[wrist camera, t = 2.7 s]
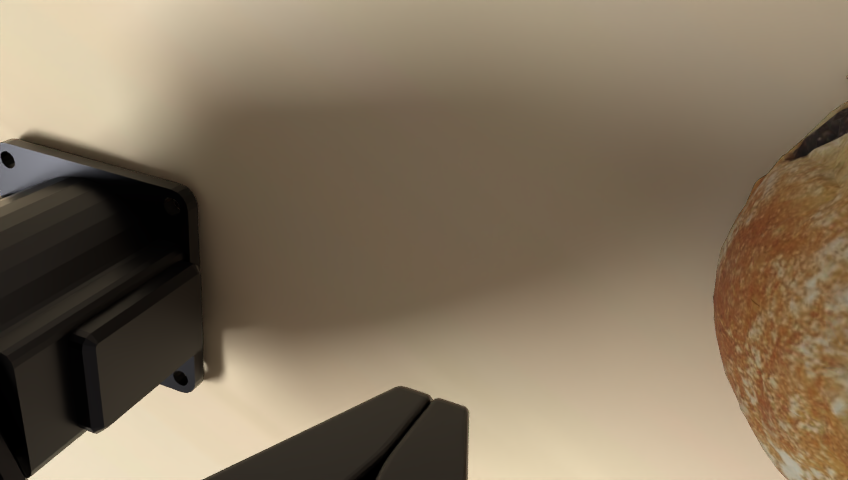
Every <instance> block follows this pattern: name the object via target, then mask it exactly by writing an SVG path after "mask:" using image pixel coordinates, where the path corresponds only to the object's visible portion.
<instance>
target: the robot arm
mask: <svg viewBox="0 0 848 480" xmlns="http://www.w3.org/2000/svg"><path fill="white" fill-rule="evenodd" d="M173 199H174V200H176V201H177V203H178V204H179V207H180V209H178V208H177V206H176V205H175V203H174V200H173ZM202 381H203V328H202V299H201V275H200V261H199V233H198V206H197V201H196V198H195V196H194V194H193V193H192V192H191V191H190V190H189V189H188V188H187V187H186V186H183V185H181V184H178V183H175V182H171V181H167V180H164V179H160V178H157V177H153V176H149V175H146V174H142V173H139V172H135V171H131V170H128V169H124V168H120V167H117V166H113V165H110V164H106V163H102V162H99V161H95V160H91V159H88V158H84V157H81V156H77V155H73V154H70V153H66V152H63V151H59V150H55V149H52V148H48V147H44V146H41V145H37V144H34V143H30V142H26V141H23V140H19V139H10V140H7V141H4V142H1V143H0V480H28V479H27V478H29V477H30V476H32V475H33V474H34V473H35V472H37V471H38V470H39V469H40V468H42V467H43V466H44V465H45V464H47V463H48V462H49V461H50V460H51V459H53V458H54V457H55V456H56V455H58V454H59V453H60V452H61V451H62V450H64V449H65V448H66V447H67V446H69V445H70V444H71V443H72V442H74V441H75V440H76V439H77V438H78V437H80V436H81V435H82V434H83V433H85V432H86V431H90V432H92V433H96V434H97V433H99V432H101V431H103V430H104V429H106V428H108V427H109V426H110V425H111V424H112V423H114V422H115V421H116V420H117V419H118V418H120V417H121V416H122V415H123V414H124V413H126V412H127V411H128V410H129V409H130V408H131V407H133V406H134V405H135V404H136V403H137V402H139V401H140V400H141V399H142V398H143V397H145V396H146V395H147V394H148V393H149V392H151V391H152V390H153V389H154V388H155V387H157V386H158V385H159V384H161V385H164V386H167V387H169V388H172V389H175V390H177V391H180V392H184V393H188V392H191V391H193V390H194V389H195V388H196V387H197V386H198V385H199V384H200V383H201V382H202ZM468 441H469V411H468V409H467V408H466V407H465V406H462V405H459V404H456V403H453V402H450V401H447V400H444V399H441V398H437V399H434V400H433V399H432V398H431V396H430V395H428V394H426V393H423V392H420V391H416V390H413V389H410V388H407V387H403V386H398V387H395V388H393V389H391V390H389V391H386V392H384V393H382V394H380V395H378V396H376V397H374V398H372V399H370V400H368V401H366V402H363V403H361V404H359V405H357V406H355V407H353V408H351V409H349V410H347V411H345V412H343V413H341V414H338V415H336V416H334V417H332V418H330V419H328V420H326V421H324V422H322V423H320V424H318V425H316V426H313V427H311V428H309V429H307V430H305V431H303V432H301V433H299V434H297V435H295V436H293V437H290V438H288V439H286V440H284V441H282V442H280V443H278V444H276V445H274V446H272V447H270V448H268V449H265V450H263V451H261V452H259V453H257V454H255V455H253V456H251V457H249V458H247V459H245V460H243V461H240V462H238V463H236V464H234V465H232V466H230V467H228V468H226V469H224V470H222V471H220V472H218V473H215V474H213V475H211V476H209V477H207V478H205V479H203V480H468Z"/></svg>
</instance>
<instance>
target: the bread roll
mask: <svg viewBox="0 0 848 480" xmlns="http://www.w3.org/2000/svg"><path fill="white" fill-rule="evenodd" d="M846 78H847V79H848V76H846ZM713 300H714V321H715V329H716V336H717V340H718V345H719V350H720V354H721V358H722V362H723V366H724V370H725V374H726V376H727V378H728V380H729V382H730V384H731V386H732V388H733V391H734V393H735V395H736V397H737V399H738V402H739V405H740V408H741V410H742V412H743V414H744V415H745V417H746V419H747V420H748V423H749V425H750V427H751V428H752V430H753V432H754V434H755V435H756V437H757V439H758V441H759V442H760V444H761V446H762V448H763V450H764V451H765V452H766V454H767V455H768V457H769V458H770V459H771V461H772V462H773V463H774V465H775V466H776V468H777V469H778V470H779V471H780V472H781V473H782V474H783V475H784V476H785V477H786V478H787V479H788V480H848V101H847V102H846V103H844V104H843V105H841V106H840V107H838V108H837V109H835V110H834V111H832V112H831V113H830V114H829V115H828V116H827V117H825V118H824V119H823V120H822V121H821V122H820V123H819V124H818V125H817V126H816V127H815V128H814V129H813V130H812V131H811V132H810V133H809V134H808V135H807V136H806V137H805V138H804V139H802V140H801V141H800V142H799V143H798V144H797V145H796V146H795V147H793V148H792V149H791V150H790V151H789V152H788V153H787V154H785V155H783V156H782V157H781V158H780V159H779V161H778V162H777V163H776V164H775V166H774V167H773V168H772V169H771V170H770V172H769V173H768V174H767V175H765V176H764V177H762V178H760V179H759V180H758V181H757V182H756V183H755V184H754V187H753V189H752V191H751V194H750V196H749V198H748V201H747V203H746V205H745V207H744V208H743V209H742V211H741V212H740V214H739V215H738V217H737V219H736V221H735V223H734V224H733V226H732V228H731V230H730V232H729V235H728V237H727V238H726V240H725V242H724V244H723V246H722V249H721V252H720V257H719V261H718V266H717V274H716V283H715V291H714V296H713Z"/></svg>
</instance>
